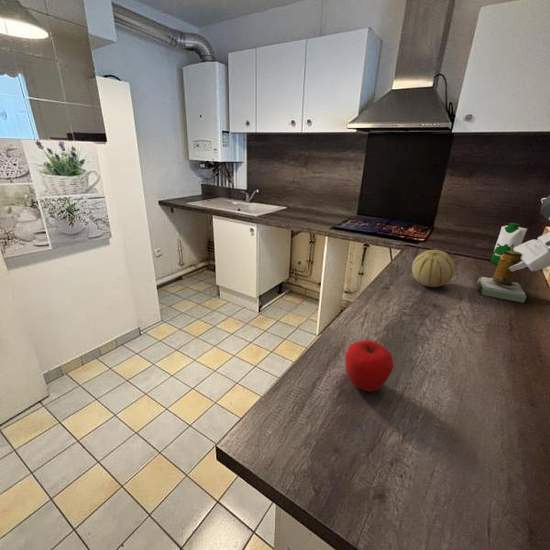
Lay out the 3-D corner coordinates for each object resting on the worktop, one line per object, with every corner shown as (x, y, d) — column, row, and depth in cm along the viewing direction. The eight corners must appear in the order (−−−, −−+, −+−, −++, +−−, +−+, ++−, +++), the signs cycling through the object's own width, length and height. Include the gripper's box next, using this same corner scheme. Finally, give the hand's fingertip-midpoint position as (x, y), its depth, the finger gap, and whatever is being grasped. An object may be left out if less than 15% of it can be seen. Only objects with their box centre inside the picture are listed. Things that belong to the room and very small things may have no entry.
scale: (515, 290, 115) (518, 282, 114) (524, 303, 105) (527, 294, 104) (476, 283, 120) (478, 275, 119) (480, 294, 111) (483, 286, 109)
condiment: (500, 277, 115) (511, 248, 110) (522, 286, 108) (534, 256, 103) (486, 279, 113) (496, 249, 108) (507, 288, 106) (519, 257, 101)
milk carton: (487, 261, 146) (501, 222, 138) (496, 258, 150) (510, 220, 142) (507, 267, 139) (522, 226, 131) (516, 264, 143) (531, 224, 135)
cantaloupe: (447, 282, 120) (457, 247, 114) (450, 296, 108) (462, 258, 102) (409, 275, 126) (417, 241, 120) (407, 288, 113) (416, 251, 107)
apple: (335, 387, 64) (341, 347, 60) (350, 364, 72) (356, 326, 67) (380, 409, 59) (390, 367, 55) (391, 381, 67) (401, 342, 62)
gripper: (536, 231, 110) (496, 251, 117) (556, 245, 93) (508, 268, 100) (546, 244, 110) (506, 264, 117) (568, 261, 93) (519, 282, 100)
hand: (507, 266), depth 109 cm, fingers closed on condiment, 6 cm apart
